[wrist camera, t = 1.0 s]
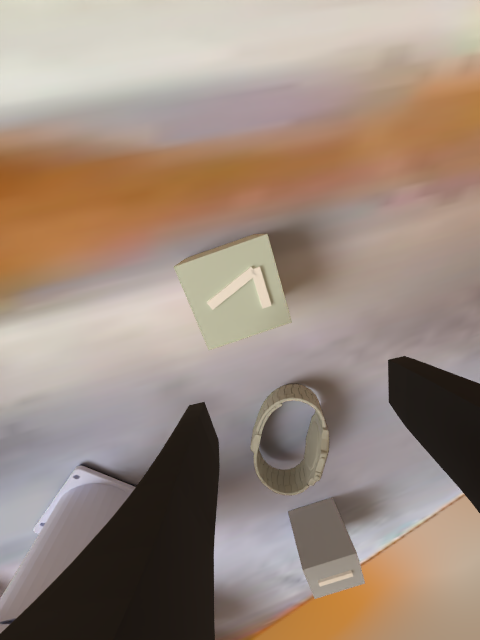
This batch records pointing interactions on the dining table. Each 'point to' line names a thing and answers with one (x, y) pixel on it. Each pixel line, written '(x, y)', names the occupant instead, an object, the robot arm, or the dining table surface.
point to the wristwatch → (315, 447)
